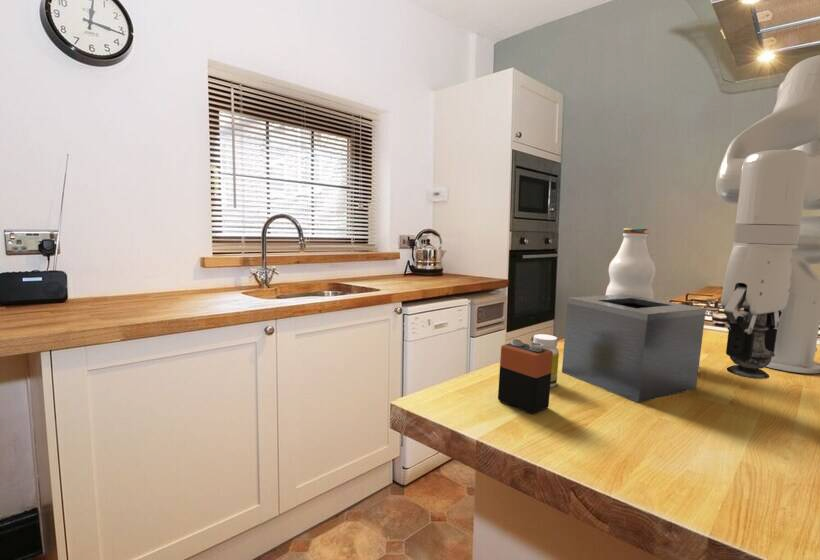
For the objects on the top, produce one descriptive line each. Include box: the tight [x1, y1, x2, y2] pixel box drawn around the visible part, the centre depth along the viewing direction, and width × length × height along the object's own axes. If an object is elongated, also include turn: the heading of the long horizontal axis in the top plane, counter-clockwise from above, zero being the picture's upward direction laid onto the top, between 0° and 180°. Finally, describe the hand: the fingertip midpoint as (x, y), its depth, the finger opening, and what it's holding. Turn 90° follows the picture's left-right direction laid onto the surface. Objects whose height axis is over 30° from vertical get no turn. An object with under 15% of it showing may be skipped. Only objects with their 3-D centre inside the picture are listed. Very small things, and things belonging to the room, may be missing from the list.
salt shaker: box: [726, 308, 775, 380], centre depth 68 cm, size 6×6×12 cm
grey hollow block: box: [561, 294, 707, 403], centre depth 81 cm, size 16×16×14 cm
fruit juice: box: [605, 227, 657, 299], centre depth 96 cm, size 9×9×28 cm
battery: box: [497, 338, 553, 415], centre depth 68 cm, size 4×7×10 cm, turn 41°
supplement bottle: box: [532, 333, 560, 388], centre depth 78 cm, size 5×5×8 cm
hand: (750, 353), depth 68 cm, fingers closed on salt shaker, 5 cm apart
